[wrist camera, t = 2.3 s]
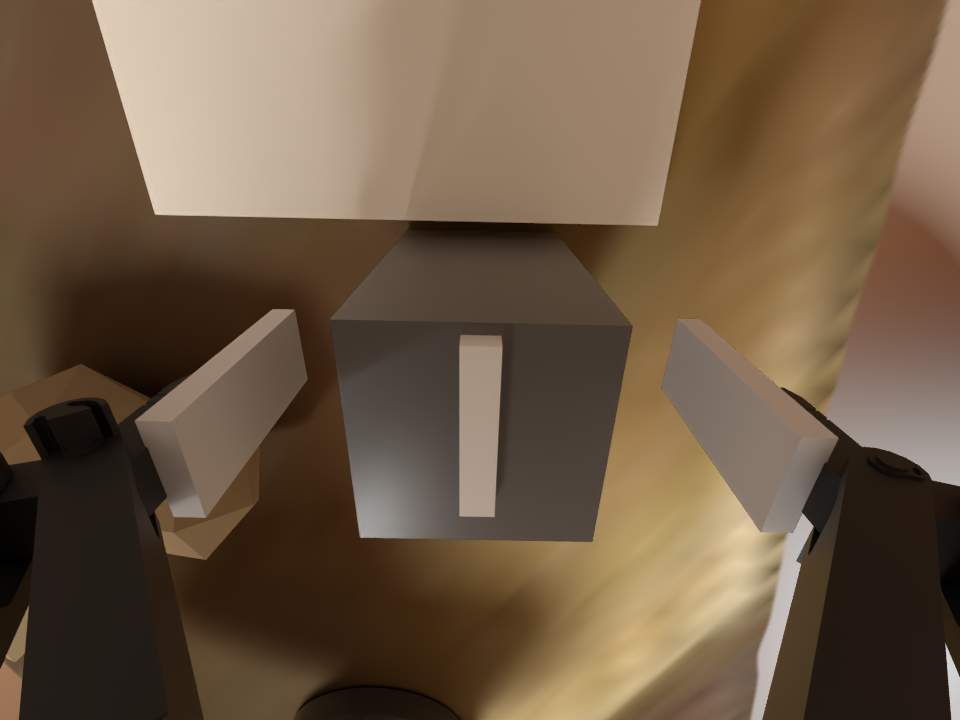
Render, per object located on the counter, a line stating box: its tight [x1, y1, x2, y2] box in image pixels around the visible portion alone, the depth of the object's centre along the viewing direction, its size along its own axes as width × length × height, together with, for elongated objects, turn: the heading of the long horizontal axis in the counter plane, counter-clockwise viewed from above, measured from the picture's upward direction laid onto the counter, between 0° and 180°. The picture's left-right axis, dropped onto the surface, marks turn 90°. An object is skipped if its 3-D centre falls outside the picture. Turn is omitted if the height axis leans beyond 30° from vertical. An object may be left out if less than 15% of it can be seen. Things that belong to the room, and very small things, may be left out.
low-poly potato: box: [0, 364, 260, 662], centre depth 20 cm, size 15×11×12 cm
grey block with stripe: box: [330, 229, 632, 542], centre depth 16 cm, size 7×7×12 cm
